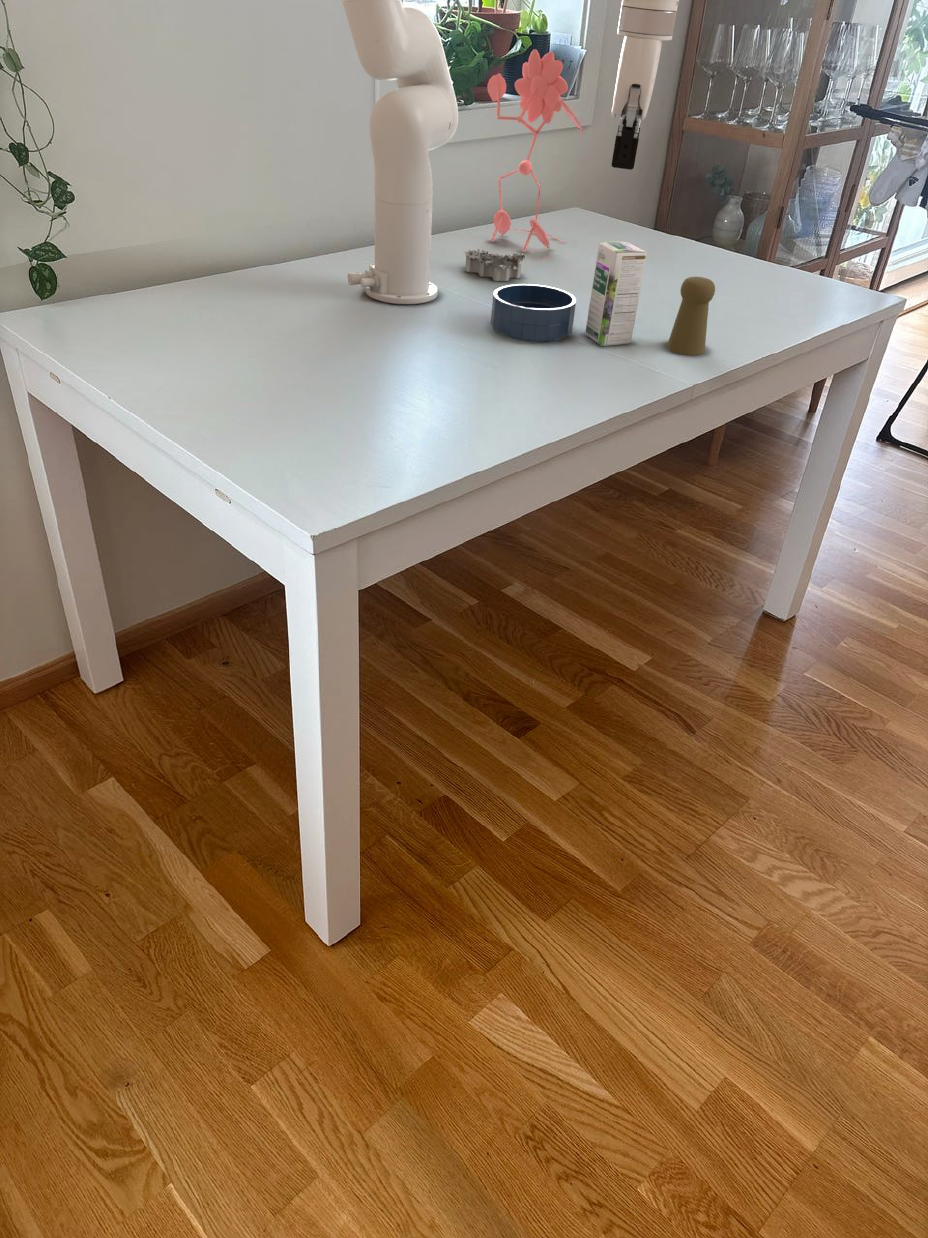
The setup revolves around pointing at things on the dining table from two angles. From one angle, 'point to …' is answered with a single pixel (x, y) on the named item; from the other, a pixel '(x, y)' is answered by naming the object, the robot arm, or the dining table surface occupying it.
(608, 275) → the syrup box
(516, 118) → the figurine
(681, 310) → the olive brown pawn
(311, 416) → the dining table surface
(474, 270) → the egg carton
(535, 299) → the bowl
